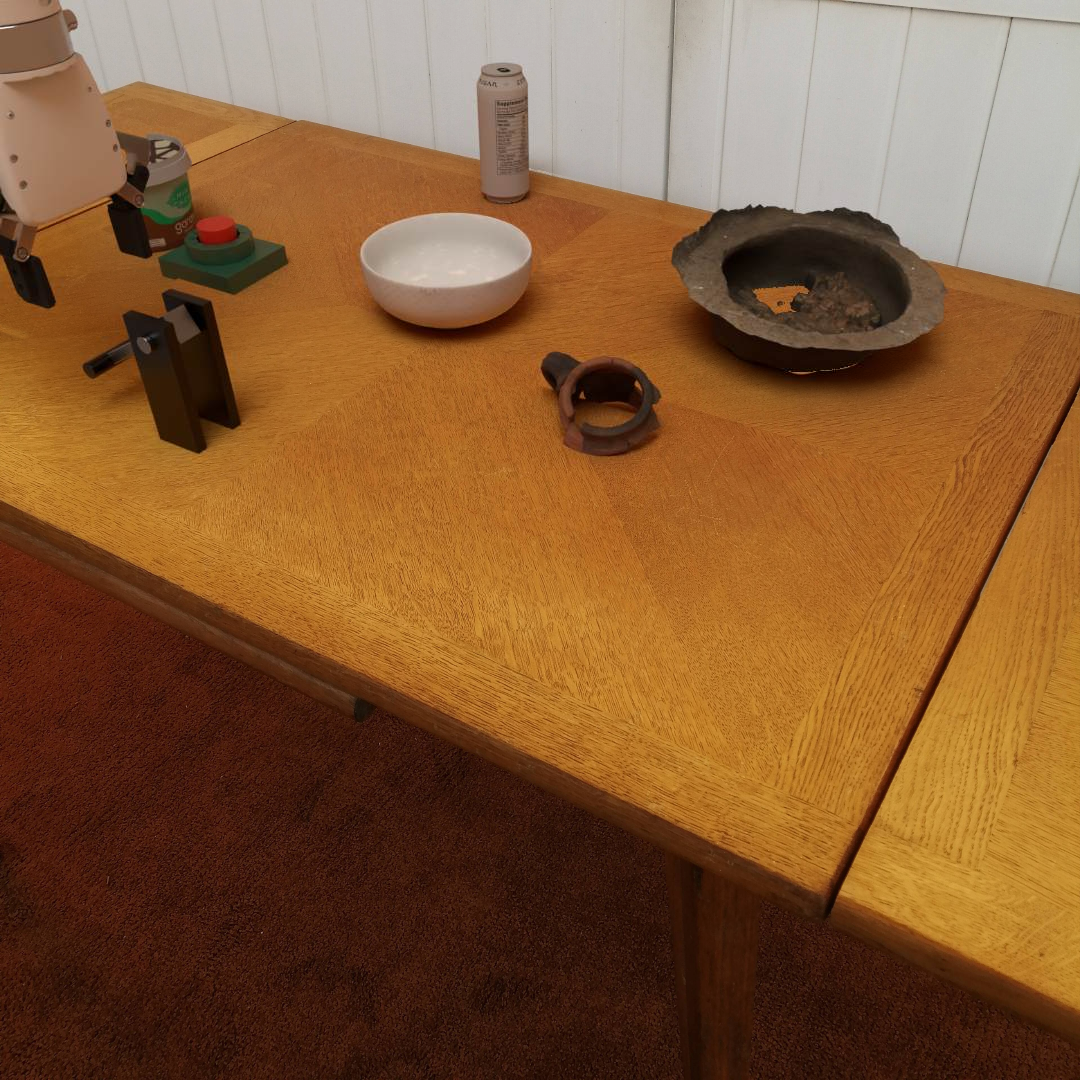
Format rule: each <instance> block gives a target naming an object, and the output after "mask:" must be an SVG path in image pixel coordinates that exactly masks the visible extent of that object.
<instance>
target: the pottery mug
mask: <svg viewBox="0 0 1080 1080" xmlns="http://www.w3.org/2000/svg"><path fill="white" fill-rule="evenodd" d="M540 372H541V374H542V376H543V378H544V379H545V381H546V382H547V383H548V385H549V386H550V387H551V389H552V390H553V391H554V392H555V394H556V396H557V398H558V402H557V403H558V411H559V412H558V413H559V419H560V422H561V424H562V427H563V429H564V431H565V435H564V438H563V441H562V444H563V445H565V446H566V447H568V448H569V449H571V450H573V451H575V452H578V453H582V454H585V455H590V456H595V457H604V456H611V455H616V454H620V453H624V452H627V451H629V450H630V445H631V446H637V445H638V444H640V443H641V442H643V440H644V439H645V437H646V436H647V435H649V434H650V433H651V432H652V431H655V430H658V429H660V428H661V425H660V421H659V417H658V415H657V413H656V411H655V409H654V406H653V405H657V404H658V403H659V402H660V400H661V399H662V398H663V397H662V393H661V391H660V390H659V388H658V387H657V386H656V385H655V384H654V383H653V382H652V381H651V380H650V379H649V377H648V376H647V374H646V372H644V370H642V369H641V368H640V367H639V366H638V365H637V366H636V364H635V363H632V362H631V361H629V360H627V359H624V358H622V357H617V356H613V357H612V356H609V355H605V356H604V355H603V356H597V357H592V358H589V359H587V360H585V361H583V362H581V361H580V360H577V358H576V359H575V358H574V357H573V356H571V355H569V354H567V353H563V352H561V351H557V350H556V351H551V352H548V353H547V354H546V356H545V357H544V358H542V361H541V365H540ZM636 382H637V383H638V384H639V386H640V388H639V387H638V386H637V385H636ZM582 393H583V397H584V399H585V400H586V401H590V402H593V403H596V404H599V405H601V404H605V403H623V404H627V405H628V406H630V407H632V408H634V409H635V410H637V412H636V413H635V415H634V416H633V417H632V418H630V419H629V420H627V421H625V422H624V423H622V424H620V425H615V426H607V427H605V426H604V427H603V426H602V427H601V426H597V425H592V424H590V423H588V422H586V421H583V422H582V424H581V425H582V426H579V425H578V424H577V422H576V420H575V419H576V411H575V409H574V406H573V404H574V403H576V402H578V400H579V399H580V397H581V395H582Z"/></svg>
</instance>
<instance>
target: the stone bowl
mask: <svg viewBox="0 0 1080 1080" xmlns="http://www.w3.org/2000/svg"><path fill="white" fill-rule="evenodd" d="M670 260H671V261H670V263H671V266H673V268H674V269H675V270H676V271H677V273H678V275H679V278H680V281H681V283H683V285H684V286H685V287H686V288H687V292H688V297H689V298H690V299H691V300H693V301H694V302H696V303H697V304H698V305H700V306H701V307H703V308H704V309H706V310H707V313H708V317H709V322H710V327H711V332H712V333H713V335H714V337H715V339H716V341H718V343H719V344H720V345H721V346H722V347H724V348H726V349H730V350H731V352H732V353H733V354H734V355H736V356H737V357H738V358H739V357H740V359H741V358H742V359H741V360H744V361H749V362H751V363H753V362H756V363H762V364H764V365H766V366H770V367H772V368H776V369H780V370H783V371H785V370H786V372H788V371H791V372H813V371H819V372H821V370H832V369H833V370H834V369H835V371H837V370H836V369H840V368H844V367H848V366H852V365H854V364H856V363H857V364H859V363H860V362H862V361H863V360H864V359H865V358H867V357H869V356H870V355H872V354H874V353H875V352H877V351H878V350H883V349H891V348H896V347H900V346H904V345H906V344H910V343H911V342H912V341H915V340H916V339H917V338H918V337H920V336H921V335H924V334H928V333H929V332H930V331H931V330H932V329H933V328H935V327H937V326H940V325H941V322H942V321H943V319H944V318H943V317H944V314H945V305H944V302H943V301H944V296H945V295H946V294H947V293H948V289H947V287H946V286H945V283H944V282H943V280H942V278H941V277H940V275H939V273H938V271H937V270H936V268H935V267H934V266H933V265H932V264H931V263H929V262H928V261H926V260H924V259H922V258H921V257H920V256H919V255H918V254H917V253H916V252H914V251H913V250H911V249H909V247H907V246H903V244H901V239H900V236H898V234H897V233H896V232H895V230H894V229H893V227H892V226H891V224H889V223H885V222H882V221H881V220H880V219H879V218H875V217H874V216H872V215H871V213H869V212H866V211H863V210H852V209H849V208H848V207H845V206H842V207H834V208H833V210H830V209H825V210H814V211H808V212H805V213H801V212H795V211H794V208H791V209H787V208H786V207H779V206H777V205H770V206H769V205H767V206H763V205H762V204H760V203H759V204H758V205H756V206H755V207H753V206H752V203H749V204H748V205H746V206H745V207H744V208H734V209H730V210H728V209H724V208H719V209H718V210H717V211H715V212H714V213H712V215H711V217H710V218H709V219H708V220H707V221H706V223H705V224H704V225H701V226H699V229H698V230H695V231H694V232H692V233H690V234H688V235H687V236H682V238H681V241H678V242H677V243H676V244H675V246H673V249H672V253H671V259H670ZM794 285H795V286H798V285H799V286H804V287H805V288H807V289H808V290H809V292H808V294H804V293H800V292H799V293H797V295H796V296H794V298H793V301H792V302H790V305H791V309H792V310H794V311H796V312H792V311H788V312H783V313H782V312H781V313H777V314H775V313H774V312H773V311H772V310H771V308H770V307H769V306H768V305H767V304H765V303H763V302H760V301H759V300H758V299H757V298H756V297H757V295H756V294H755V293H753V291H754V290H755V289H759V288H760V289H761V288H764V289H765V288H773V287H776V288H778V287H786V286H794ZM752 290H753V291H752ZM783 303H784V304H785V302H782V301H779V302H777V305H778V306H780V305H783ZM862 359H863V360H862ZM861 360H862V361H861ZM858 362H859V363H858ZM857 364H856V365H857Z"/></svg>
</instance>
